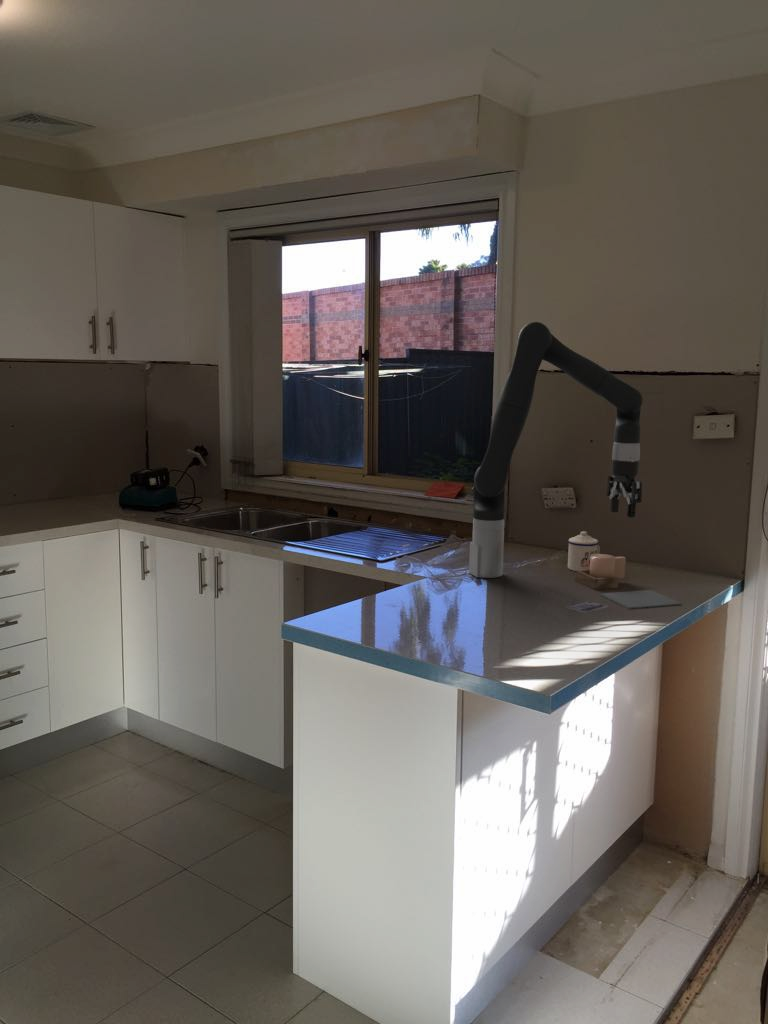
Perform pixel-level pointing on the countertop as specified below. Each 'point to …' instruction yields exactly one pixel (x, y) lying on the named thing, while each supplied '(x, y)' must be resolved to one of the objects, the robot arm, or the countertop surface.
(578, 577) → the walnut holder
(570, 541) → the teacup with lid
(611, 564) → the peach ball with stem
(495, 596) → the countertop surface
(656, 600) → the charcoal mat
